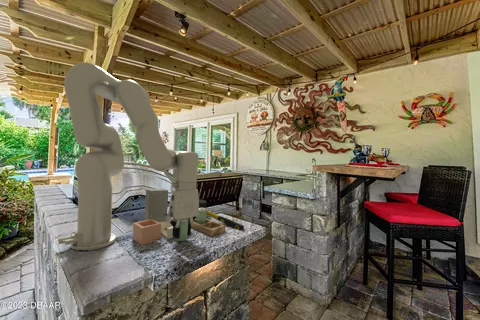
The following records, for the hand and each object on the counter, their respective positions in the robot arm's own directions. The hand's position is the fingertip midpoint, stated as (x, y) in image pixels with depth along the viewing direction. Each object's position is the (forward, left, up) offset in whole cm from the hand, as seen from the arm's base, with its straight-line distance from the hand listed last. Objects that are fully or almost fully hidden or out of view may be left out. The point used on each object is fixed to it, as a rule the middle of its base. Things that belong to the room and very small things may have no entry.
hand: (181, 235), depth 73 cm
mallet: (+23, +6, -3) cm, 25 cm away
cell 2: (+15, +7, -2) cm, 17 cm away
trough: (+15, +4, -3) cm, 15 cm away
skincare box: (+3, +24, -3) cm, 25 cm away
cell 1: (0, 0, -1) cm, 1 cm away
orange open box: (-7, +11, -3) cm, 14 cm away
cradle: (+3, +9, -3) cm, 10 cm away
